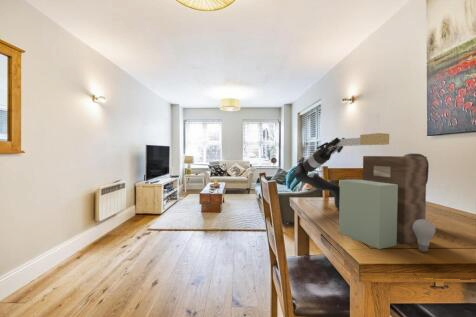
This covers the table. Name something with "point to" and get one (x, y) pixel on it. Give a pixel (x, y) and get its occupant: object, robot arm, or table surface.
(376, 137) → the shaft
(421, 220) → the lightbulb
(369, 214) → the sage green carton
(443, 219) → the table surface
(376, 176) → the parts stand
